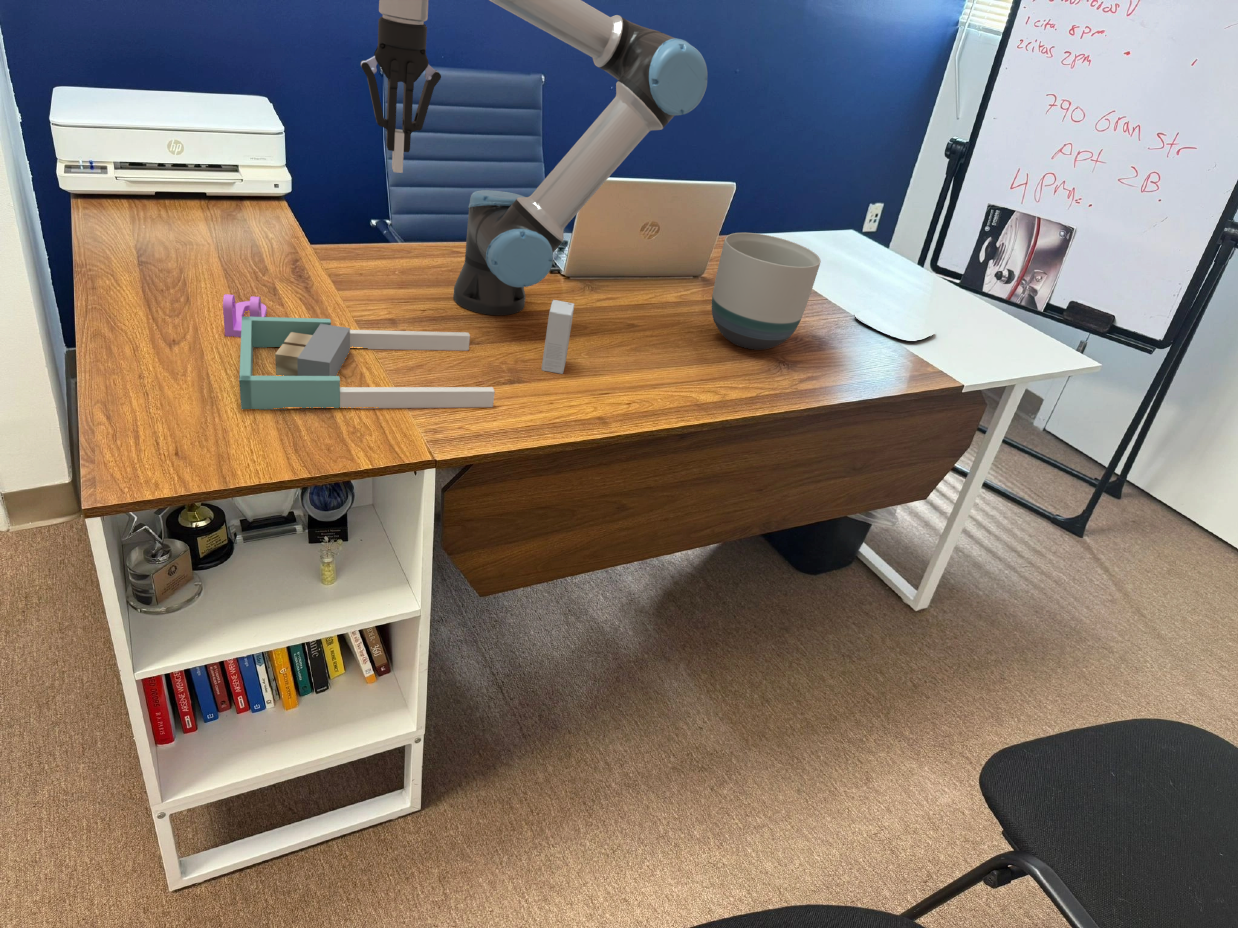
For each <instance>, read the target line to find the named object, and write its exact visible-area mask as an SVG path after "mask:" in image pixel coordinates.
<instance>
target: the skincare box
mask: <svg viewBox="0 0 1238 928" xmlns="http://www.w3.org/2000/svg"><path fill="white" fill-rule="evenodd" d="M550 304H551V305H550V308H549V313H548V319H547V327H546V335H545V341H544V347H543V348H544V349H543V355H542V356H543V357H542V363H541V371H543V372H550V373H554V374H560V375H561V374H562V375H563V374H564V371H565V367H566V362H567V356H568V350H569V349H568V348H569V343H570V338H571V337H570V336H571V330H572V323H573V316H574V309H575V303H572V302H567V301H563V300H557V299H552V302H551V303H550Z"/></svg>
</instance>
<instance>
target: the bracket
mask: <svg viewBox="0 0 1238 928" xmlns="http://www.w3.org/2000/svg"><path fill="white" fill-rule="evenodd" d="M261 300H262V299H261V297H260V296H254V295H253V296H250V298H249V300H246V301H240V302H236V297H235V295H234V294H227V293H225V294H224V295H223V300H222V314H223V327H224V337H230V338H231V336H232V338H233V336H234V338H241V327H242V316H245V315H244V313H245V311H248V310H249V311H250V312H249V317H267V316H266V314H267V313H268V311H267V310H268V309H267V306H266V305H265V304H264V303H263V302H262V301H261ZM245 314H246V313H245Z"/></svg>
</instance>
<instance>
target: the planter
mask: <svg viewBox="0 0 1238 928" xmlns="http://www.w3.org/2000/svg"><path fill="white" fill-rule="evenodd" d="M821 261H822V260H821V257H820V256H819V255H818V254H817V253H815V251H813V250H811V249H810V248H807V247H805V246H803V245H802V244H799V243H797V242H794V241H790V240H788V239H786V238H785V239H784V238H781V237H777V236H773V235H768V234H763V233H756V232H755V233H754V232H735V233H734V232H733V233H731V234H728V235H726V237H725V238H724V241H723V245H722V250H721V252H720V257H719V261H718V266H717V271H716V274H715V280H714V285H713V289H712V290H713V291H712V296H711V315H712V320H713V322H714V324H715V326H716V328H717V330H718V331H719V333H720V334H721V335H722V336H723V337H724V338H725V339H727V340H728V341H729V342H730V343H732V344H734V345H736V346H738V347H741V348H743V347H744V349H747V348H748V350H753V349H754V350H756V351H758V350H759V351H761V350H768V349H771V348H775V347H777V346H779V345H782V344H783V343H784V342H786V341H787V340H789V339H790V337H791V336H792V335H793V334H794V332H795V331H796V330H797V328H798V327H799V324H800V322H801V320H802V318H803V316H804V313H805V311H806V307H807V305H808V302H809V299H810V296H811V293H812V291H813V287H814V284H815V281H816V277H817V275H818V271H819V269H820V265H821V263H822V262H821Z"/></svg>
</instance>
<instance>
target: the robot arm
mask: <svg viewBox="0 0 1238 928" xmlns="http://www.w3.org/2000/svg"><path fill="white" fill-rule="evenodd" d="M488 1H489V2H491V3H493V4H495V5H497V6H499V7H500V8H502V9H504V10H506V11H507V12H509V13H511V14H513V15H515V16H517V17H518V18H520V19H522V20H524V21H525V22H528V23H529V24H531V25H533V26H535V27H536V28H538V29H540V30H542V31H543V32H546V33H548V34H549V35H551V36H553V37H555V38H556V39H559V40H560V41H562V42H564V43H565V44H568V45H569V46H571V47H572V48H575V49H576V50H578V51H580V52H581V53H583V54H585V55H587V56H589V57H591V58H592V61H593V64H594V65H595V66H596V67H597V68H599V69H601V70H603V71H605V72H606V73H608V74H609V75H610V76H612V77H613V78H614V79H616V80H617V82H616V83H615V85H616V86H615V88H616V89H615V90H616V91H615V93H616V94H615V97H614V98H613V99H612V101H611V102H610V103H608V105H607V106H606V108H605V109H604V110H603V111H602V112H601V113H600V114H599V115H598V117H597V118H596V119H595V120H594V121H593V123H592V124H591V125H590V126H589V127H588V128H587V130H586V131H585V132H584V133H583V134H582V136H581V137H580V138H579V139H578V140H577V141H576V142H575V144H574V145H573V146H572V147H571V148H570V149H569V151H568V152H567V153H566V154H565V155H564V156H563V157H562V159H561V160H560V161H559V162H558V163H557V164H556V165H555V167H554V168H553V169H552V170H551V171H550V173H549V174H548V175H547V176H546V177H545V178H544V179H543V180H542V181H541V183H540V184H539V185H538V186H537V188H536V189H535V190H534V192H533V193H532V194H531V195H529V196H524V195H521V194H518V193H514V192H509V191H502V190H488V189H487V190H486V189H485V190H482V189H481V190H476V191H474V192H473V193H471V195H470V199H469V204H468V217H467V227H466V228H467V230H466V243H465V256H464V264H463V266H462V267H461V271H460V273H459V274H458V277H457V279H456V281H455V284H454V287H453V300H454V302H455V303H456V304H457V305H459V306H460V307H462V308H464V309H465V310H467V311H468V310H469V311H471V312H474V313H478V314H483V315H489V316H507V315H514V314H518V313H519V312H521V311H523V310H524V308H525V306H526V291H525V288H527V287H532V286H534V285H536V284H539V283H540V282H541V281H542V280H544V279H545V278H546V277H547V275H548V274H549V273H550V271H551V269H552V267H553V263H554V262H553V259H554V253H555V252H556V250H557V249H558V248H559V247H560V246H561V245H562V243H563V242H565V241H564V239H565V236H564V230H565V228H566V227H567V226H568V224H570V222H571V220H573V218H575V216H576V215H577V214H578V213H579V212H580V211H581V209H583V208H584V206H586V204H587V203H588V201H590V199H591V198H592V197H593V196H594V195H595V193H596V192H597V191H598V190H599V189H601V187H602V186H603V185H604V184H605V182H606V181H607V180H608V179H609V178H610V176H611V175H612V174H613V173H614V172H615V171H616V170H617V168H618V167H620V165H621V164H622V163H623V162H624V161H625V160H626V159H627V157H628V156H629V155H630V153H632V152H633V151H634V149H635V148H636V147H637V146H638V144H640V142H641V141H643V139H644V138H645V137H646V136H647V135H648V134H649V132H651V131H660V130H661V131H662V130H663V129H664V128H665V127H666V126H667V125H668V124H669V122H670V121H671V120H672V119H674V117H675V116H682V115H686V114H689V113H690V112H691V111H693V110H695V108H696V107H697V106H699V104H700V103H701V101H702V99H703V97H704V95H705V92H706V90H707V87H708V75H709V74H708V67H707V63H706V60H705V59H704V57H703V55H702V53H701V52H700V50H698V49H697V48H695V46H693V45H692V44H690V43H689V41H687V40H685V39H681V38H676V37H673V36H671V35H668V34H666V33H664V32H661V31H659V30H655V29H652V28H648V27H645V26H641V25H639V24H636V23H634V22H631V21H629V20H627V19H626V18H624V17H622V16H621V15H618V14H616V15H613V16H609V15H607V14H605V13H604V12H602V11H600V10H598V9H597V8H595V7H593V6H591V5H589V4H588V3H587V2H585V1H583V0H488ZM378 12H379V13H380V14H381V15H382V16H380V17H379V18H378V24H377V26H378V27H377V29H378V30H377V46H376V49H375V51H374V52H373V53H374V54H373V56H371V57H370V58H368V59H366V60H364V59H363V60H361V61H360V67H361V69H362V71H363V72H364V74H365V76H366V80H367V84H368V89H369V94H370V98H371V102H372V107H373V115H374V118H375V122H376V125H378V126H379V127H382V128H383V129H385V130H386V138H385V139H386V140H385V141H386V143H385V145H386V148H387V150H388V152H389V151H390V152H391V154H392V156H391V168H392V171H393V173H398V174H399V173H401V174H403V173H404V172H403V171H404V153H410V151H411V139H412V138H411V137H412V133H413V132H415V131H416V132H417V131H421V130H422V129H423V127H424V124H425V121H426V116H427V113H428V110H429V106H430V103H431V99H432V97H433V96H432V95H433V94H434V91H435V90H434V89H435V87H436V85H438V83H439V81H441V78H442V74H441V73H440V72H439V71H438V70H437V69H434V68H433V66H431V65H430V64H429V58H428V56H427V38H428V35H427V34H428V27H427V25H426V24H425V23H424V22H426V21H428V20H429V19H428V18H429V17H428V15H429V0H379V1H378ZM377 65H378V66H379V67H380V69H381V71H382V73H383V75H384V76H385V77H386V79H387V98H386V99H387V100H386V101H387V103H386V118H385V117H384V113H383V107H382V103H381V98H380V91H379V89H378V88H379V87H378V84H377V78H376V76H375V74H377V70H378V69H377ZM424 72H425V74H424V78H425V81H424V85H423V88H422V92H421V94H420V97H419V101H418V105H417V108H416V112H415V116H414V119H413V102H414V101H413V97H414V89H415V87H414V85H415V82H417V80H418V79H419V78H420V77H421V76H422V74H423V73H424ZM399 83H403V84H402V85H403V93H402V94H403V95H402V96H403V97H402V124H401V127H402V129H397V128H396V126H397V125H396V124H397V103H398V102H397V100H398V87H399V86H398V85H399ZM412 119H413V120H412Z"/></svg>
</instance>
